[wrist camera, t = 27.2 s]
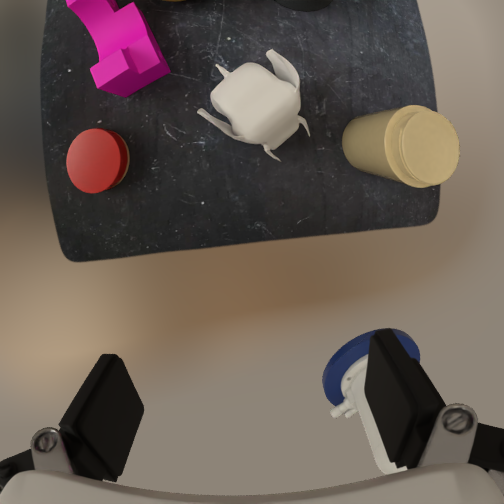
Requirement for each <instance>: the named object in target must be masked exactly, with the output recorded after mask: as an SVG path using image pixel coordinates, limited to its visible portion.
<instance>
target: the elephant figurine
mask: <svg viewBox="0 0 504 504" xmlns="http://www.w3.org/2000/svg"><path fill="white" fill-rule="evenodd" d="M266 56H267V58H268V59H269V60H270V61H271V62H272V65H273V68H274V71H275V74H276V76H275V75H273V74H272V73H271V72H269V71H268V70H267V69H265V68H264V67H262V66H261V65H259V64H255V63H245V64H243V65H242V66H240V67H239V68H237V69H236V70H234V71H233V72H231V73H230V72H228V71H227V70H225V69H224V68H223V67H221V66H219V64H216V67H218V69H219V71H220V72H221V73H222V74H223V76H224V80H223V81H221V82H220V83H219V84H218V85H217V86H216V88H215V89H214V90H213V91H212V92H211V102H212V104H213V106H214V107H215V109H216V110H217V111H218V112H219V113H221V114H223V115H225V116H226V117H227V118H228V119H229V121H230V123H231V124H232V127H231V126H230V125H229V124H227V123H225V122H223V121H221V120H219V119H217V118H215V117H213V116H211V115H210V114H208V113H207V112H206V111H205V110H204V109H202V108H201V109H199V110H198V111H197V113H198V114H200V115H201V116H203V117H204V118H206V119H207V120H208V121H210V122H211V123H213V124H214V125H215V126H217V127H218V128H219V129H221V130H222V131H223V132H224V133H226V134H227V135H229V136H231V137H233V138H234V139H236V140H239V141H242V142H246V143H252V144H261V145H263V146H264V150H265V152H266V153H267V154H269V155H270V156H271V157H273V158H274V159H277V160H279V159H278V158H277V157H276V156H275V155H273V154H272V153H271V151H270V149H272V150H274V149H276V148H277V147H279V146H280V145H281V144H282V143H283V142H284V141H286V140H287V139H288V138H289V137H290V136H291V135H292V134H293V133H294V132H296V131H297V129H298V128H299V123H302V124H303V125H304V127H305V128H306V130H307V132H308V135H309V137H310V133H309V129H308V125H307V123H306V120H305V119H304V118H303V117H301V116H298V115H297V114H298V112H299V111H300V106H301V101H300V92H299V88H300V79H299V76H298V73H297V71H296V70H295V68H294V67H293V66H292V65H291V64H290V63H289V62H288V61H287V60H286V59H285V58H284V57H282V56H281V55H279V54H278V53H276V52H275V51H274V50H273V49H271V50H269V51H267V53H266ZM279 161H280V160H279Z"/></svg>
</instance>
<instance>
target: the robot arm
mask: <svg viewBox="0 0 504 504" xmlns="http://www.w3.org/2000/svg"><path fill="white" fill-rule="evenodd" d="M341 391H342V393H343V396H344V397H345V399H344V400H343V401H344V402H343V403H341V404H340V405H337V406H336V407H334V408H333V409H331V410H330V413H331V415H332V416H333V417H334V418H337V417H339V416H340V415H342V414H343V413H344V412H345V413H344V414H345V416H346V417H347V418H349V417H351V416H352V415H354V414H355V413H356V412H359V414H360V417H361V420H362V423H363V426H364V429H365V432H366V435H367V438H368V441H369V444H370V447H371V450H372V453H373V456H374V459H375V462H376V464H377V466H378V468H379V469H380V470H381V471H382V472H383V473H384V474H386V475H385V476H381V477H377V478H373V479H369V480H364V481H360V482H355V483H350V484H345V485H339V486H334V487H329V488H323V489H316V490H310V491H301V492H292V493H283V494H268V495H249V496H248V495H246V496H214V495H193V494H180V493H170V492H160V491H153V490H146V489H140V488H134V487H128V486H122V485H118V484H113V483H108V482H103V481H102V480H103V479H104V480H108V481H112V482H116V481H117V478H118V476H121V475H122V473H123V470H124V467H125V464H126V461H127V458H128V455H129V452H130V449H131V447H132V444H133V441H134V438H135V435H136V432H137V430H138V427H139V424H140V421H141V419H142V416H143V413H144V405H143V403H142V401H141V399H140V397H139V395H138V393H137V391H136V389H135V387H134V385H133V382H132V380H131V378H130V376H129V374H128V371H127V369H126V367H125V365H124V362H123V360H122V359H121V358H119V357H118V356H117V355H116V354H102V355H101V356H100V358H99V360H98V361H97V363H96V364H95V366H94V367H93V369H92V370H91V372H90V374H89V375H88V377H87V378H86V380H85V381H84V383H83V385H82V386H81V388H80V389H79V391H78V393H77V394H76V396H75V398H74V399H73V401H72V403H71V404H70V406H69V408H68V409H67V411H66V413H65V414H64V416H63V418H62V419H61V421H60V423H59V426H60V427H61V428H60V430H59V431H58V430H57V429H55V428H52V427H51V428H50V427H47V428H43V429H41V430H39V431H38V432H37V433H35V435H34V436H33V437H32V440H31V449H29V450H27V451H25V452H22V453H19V454H17V455H15V456H12V457H9V458H7V459H5V460H3V461H1V462H0V504H504V429H502V428H497V427H493V426H489V425H485V424H481V423H478V418H477V415H476V413H475V411H474V410H473V409H472V408H470V407H469V406H467V405H464V404H459V403H458V404H457V403H455V404H450V405H448V406H446V404H445V403H444V401H443V399H442V398H441V396H440V394H439V393H438V391H437V390H436V388H435V387H434V385H433V384H432V382H431V380H430V379H429V377H428V376H427V374H426V373H425V371H424V370H423V368H422V367H421V365H420V363H419V362H418V361H417V359H416V358H411V357H410V356H409V354H408V353H407V351H406V350H405V348H404V347H403V345H402V344H401V342H400V341H399V339H398V338H397V336H396V335H395V333H394V332H393V330H392V329H391V328H388V329H383V330H378V331H375V333H374V335H372V336H371V337H370V343H369V353H368V354H367V355H365V356H363V357H362V358H360V359H359V360H357V361H356V362H355V363H354V364H352V365H351V366H350V367H349V369H348V370H347V371H346V372H345V374H344V376H343V378H342V381H341Z"/></svg>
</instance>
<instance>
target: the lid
mask: <svg viewBox="0 0 504 504" xmlns="http://www.w3.org/2000/svg"><path fill="white" fill-rule="evenodd" d="M127 163H128V153H127V149H126V145H125V143H124V141H123V140H122V138H121V137H120V136H119V135H118V134H117V133H115V132H113V131H111V130H107V129H104V128H97V129H89V130H86V131H84V132H82V133H81V134H80V135H78V136H77V137H76V138H75V140H74V141H73V142H72V144H71V146H70V148H69V151H68V155H67V171H68V174H69V177H70V179H71V181H72V182H73V184H74V185H75V186H76V187H77V188H78V189H80V190H82V191H84V192H86V193H98V192H102V191H104V190H108V189H111V188H112V187H113V186H115V185H116V184H117V183H118V182H119V181H120V180H121V178H123V175H124V173H125V171H126V168H127Z"/></svg>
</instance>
